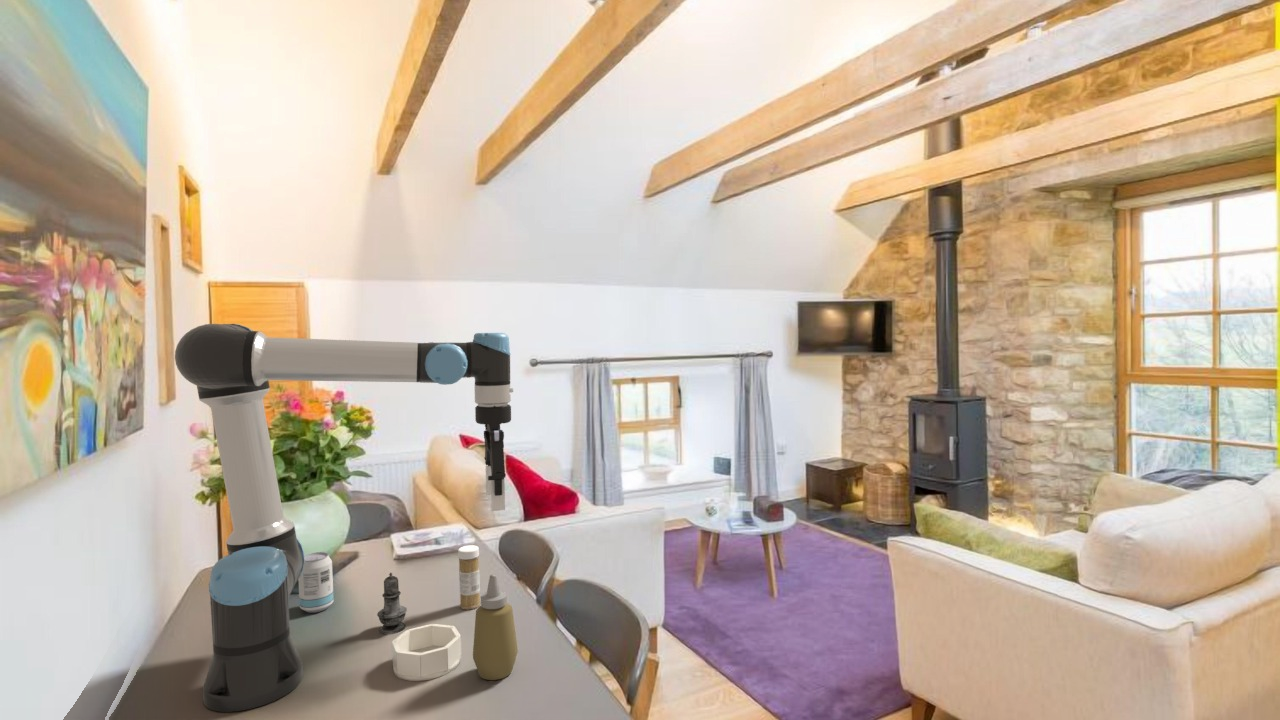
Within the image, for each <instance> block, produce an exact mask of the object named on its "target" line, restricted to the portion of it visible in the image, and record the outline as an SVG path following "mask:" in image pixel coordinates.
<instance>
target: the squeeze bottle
mask: <svg viewBox="0 0 1280 720" xmlns="http://www.w3.org/2000/svg"><path fill="white" fill-rule="evenodd" d="M474 618H475V619H474V633H473V646H472V648H473V649H472V659H473V662H474V664H475V667H476V669H477V672H478V674H479V677H481V678H482V679H484V680H488V681H496V680H497V681H498V680H502V679H505V678H507V677H508V676H509V675H510V674H512V672H513V669H514V666H515V663H516V659H517V655H518V653H519V651H518V644H517V643H518V642H517V634H516V626H515V620H514V619H515V618H514V612H513V607H512V604H510V603H508V595H507V592H505V591H504V590H503V591H502V590H501V589H500V584H499V581H498V576H497V574H490V575H489V579H488V585H487V590H486V592H484V593H482V595H480V605H479V606H478V607H477V608H476V610H475V617H474Z"/></svg>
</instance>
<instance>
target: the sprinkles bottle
mask: <svg viewBox="0 0 1280 720" xmlns="http://www.w3.org/2000/svg"><path fill="white" fill-rule="evenodd" d="M479 555H480V548H479V546H478V545H473V544H471V545H470V544H469V545H464V546H461V547H459V548H458V550H457V556H458V557H457V558H458V564H459V565H458V566H459V569H458V570H459V574H458V575H459V577H458V578H459V599H460V600H459V601H460V604H459V606H460V608H461V609H463V610H473V609H478V608H479V607H480V606H481V595H480V594H481V593H480V592H481V587H480V586H481V585H480V568H479Z"/></svg>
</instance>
